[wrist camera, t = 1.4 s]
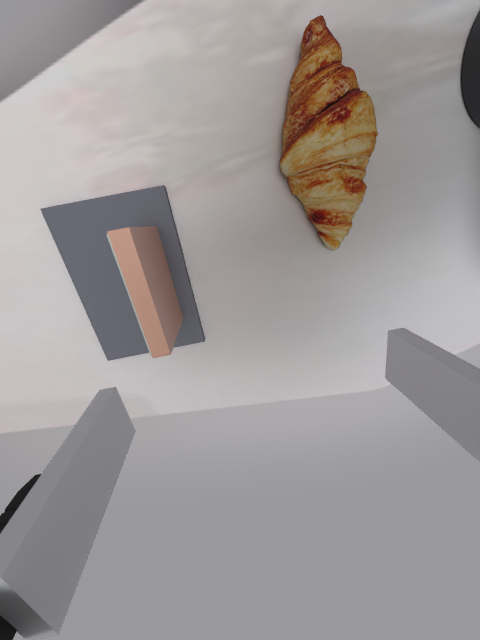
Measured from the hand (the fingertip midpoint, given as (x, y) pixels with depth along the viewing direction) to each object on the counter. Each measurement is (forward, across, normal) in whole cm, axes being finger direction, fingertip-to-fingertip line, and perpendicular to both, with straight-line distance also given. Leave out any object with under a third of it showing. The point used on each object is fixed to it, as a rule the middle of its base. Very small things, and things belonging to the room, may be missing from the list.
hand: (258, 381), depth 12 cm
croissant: (+23, +13, +12) cm, 29 cm away
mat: (+23, -12, +2) cm, 26 cm away
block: (+22, -8, +2) cm, 24 cm away
